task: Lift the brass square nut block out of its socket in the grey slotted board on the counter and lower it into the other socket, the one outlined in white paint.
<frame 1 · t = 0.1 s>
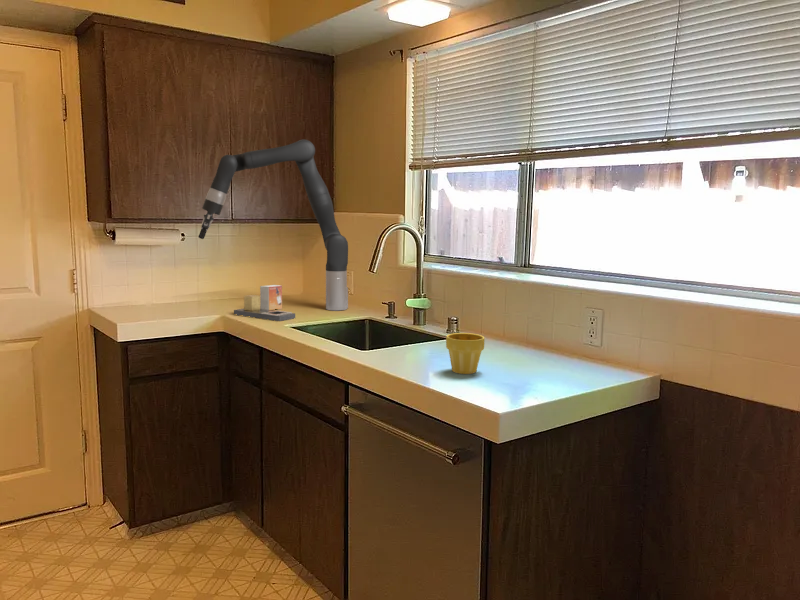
hand: (201, 238, 267), 31 cm above the countertop, tool tilted 20°, fingers open, 8 cm apart
nut block: (252, 314, 268), resting in grey slotted board
small box: (271, 309, 284), on the countertop
grey slotted board: (264, 316, 264), on the countertop
plant pot: (464, 372, 177), on the countertop
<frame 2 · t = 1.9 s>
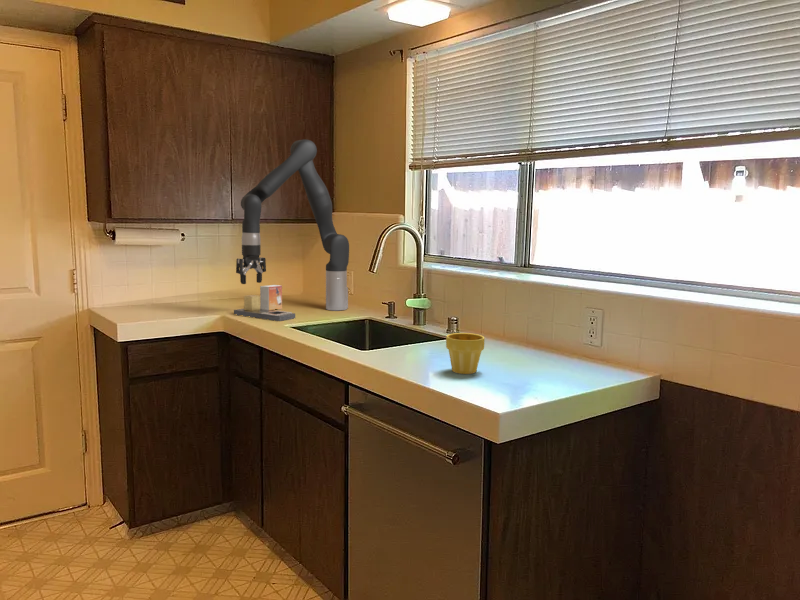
hand: (251, 283, 266), 13 cm above the countertop, tool pointing down, fingers open, 8 cm apart
nothing on the countertop moved.
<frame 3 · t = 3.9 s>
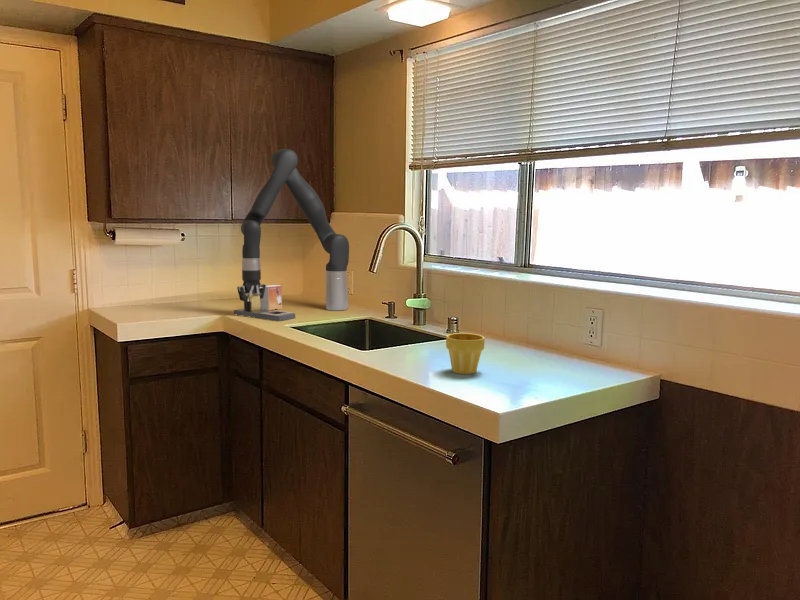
hand: (252, 309, 267), 2 cm above the countertop, tool pointing down, fingers closed on nut block, 4 cm apart
nut block: (252, 314, 268), resting in grey slotted board, touching gripper
everything else where it was.
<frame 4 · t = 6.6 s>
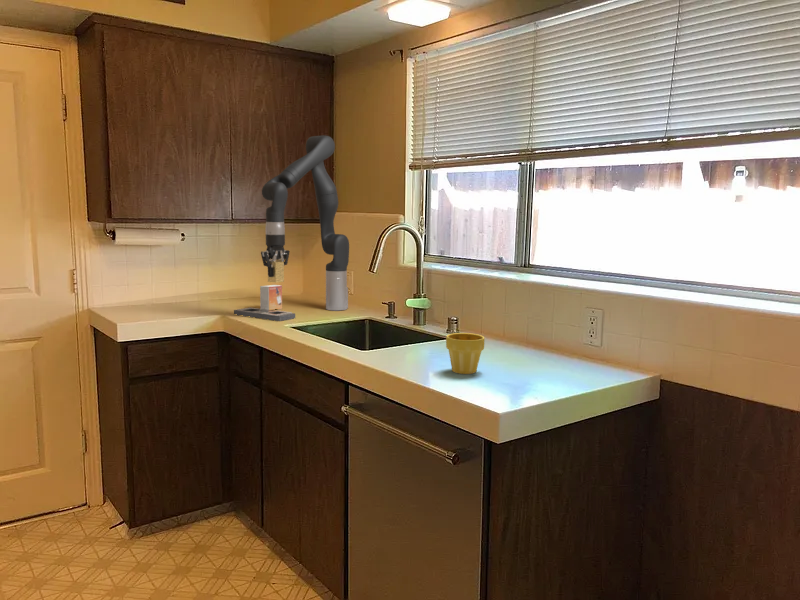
hand: (275, 276, 258), 17 cm above the countertop, tool pointing down, fingers closed on nut block, 4 cm apart
nut block: (275, 281, 258), point 15 cm above the countertop, touching gripper
everything else where it was.
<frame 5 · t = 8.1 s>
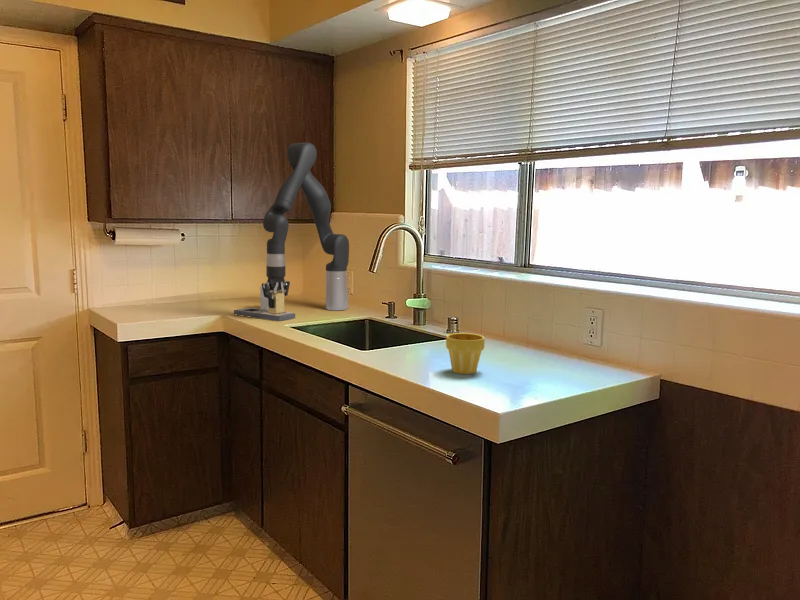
hand: (276, 307, 259), 5 cm above the countertop, tool pointing down, fingers closed on nut block, 4 cm apart
nut block: (276, 312, 260), point 2 cm above the countertop, touching gripper
everything else where it was.
when the fingers open (3 cm above the countertop, at t = 9.2 s): nut block stays where it is, resting in grey slotted board.
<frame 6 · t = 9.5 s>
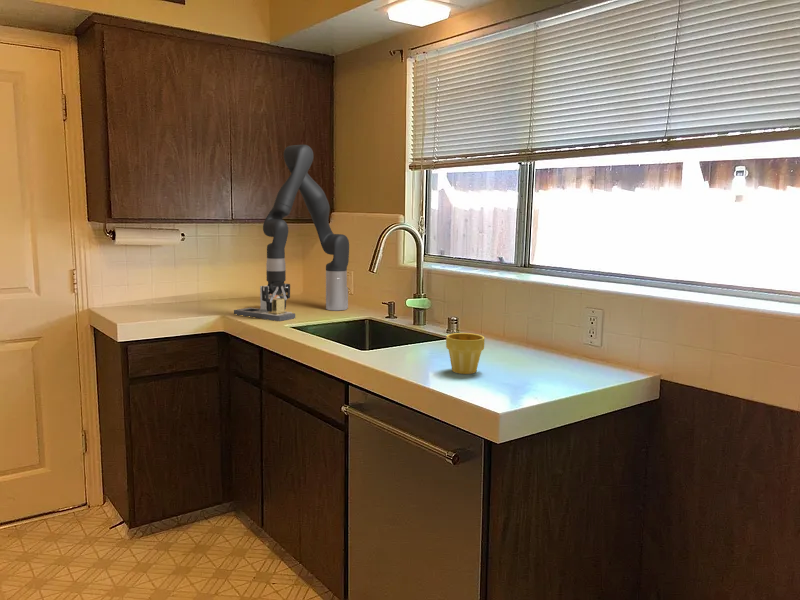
hand: (276, 310, 260), 3 cm above the countertop, tool pointing down, fingers open, 7 cm apart
nut block: (276, 318, 260), resting in grey slotted board
everything else where it was.
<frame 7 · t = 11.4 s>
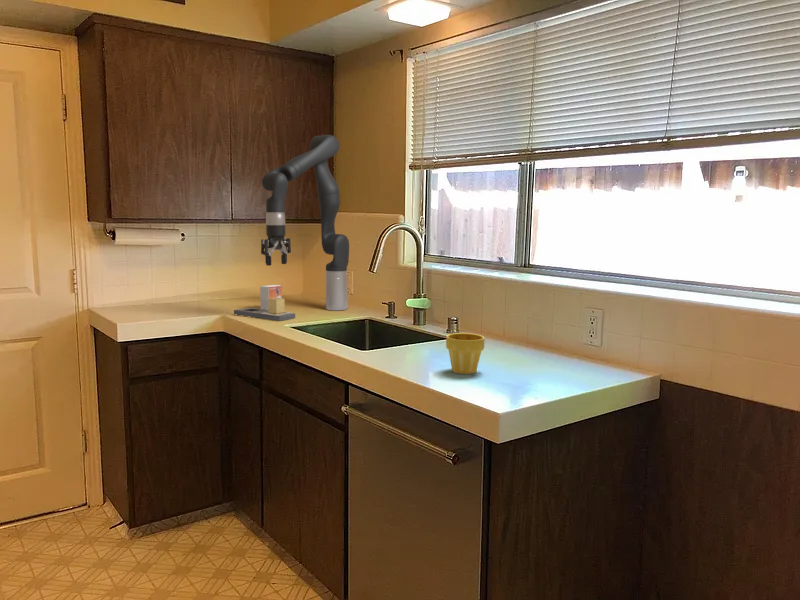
hand: (276, 264, 258), 22 cm above the countertop, tool pointing down, fingers open, 8 cm apart
nothing on the countertop moved.
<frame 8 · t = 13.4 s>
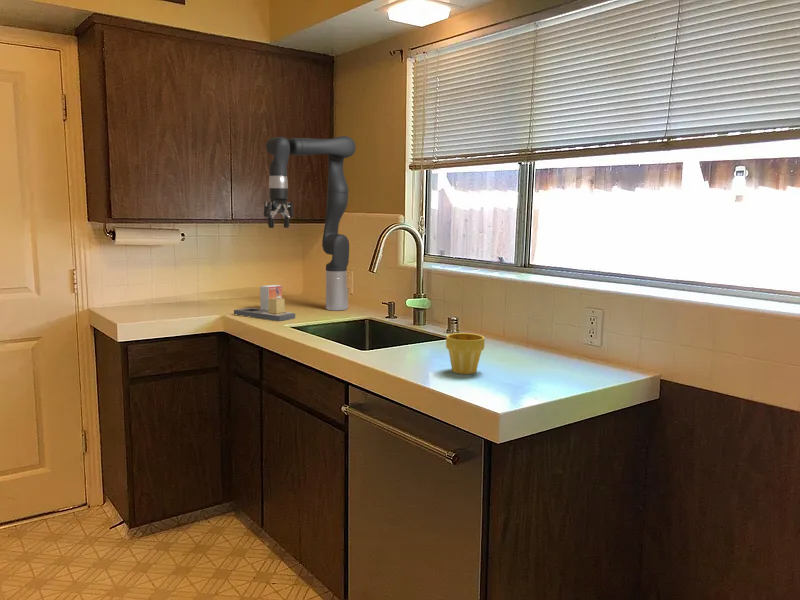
hand: (278, 227, 264), 36 cm above the countertop, tool pointing down, fingers open, 8 cm apart
nothing on the countertop moved.
at the end: nut block 0.0 cm from the target spot on the grey slotted board, point 0.0 cm above the grey slotted board's base; nut block tilted 0°; the gripper is holding nothing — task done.
